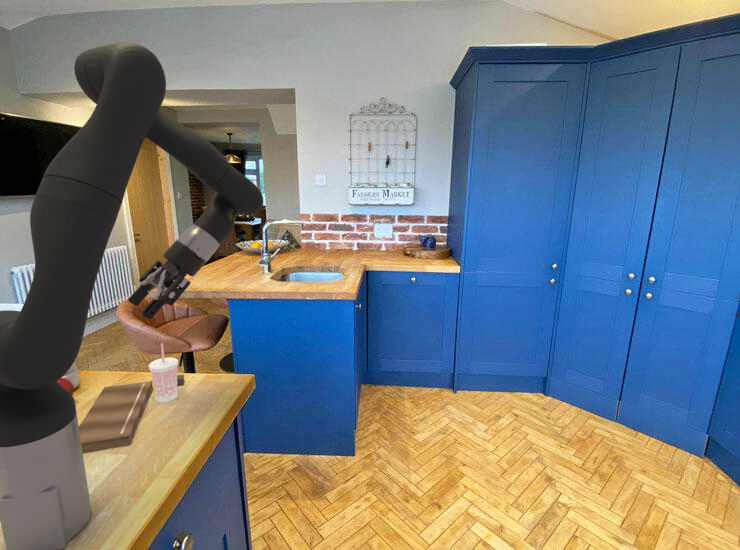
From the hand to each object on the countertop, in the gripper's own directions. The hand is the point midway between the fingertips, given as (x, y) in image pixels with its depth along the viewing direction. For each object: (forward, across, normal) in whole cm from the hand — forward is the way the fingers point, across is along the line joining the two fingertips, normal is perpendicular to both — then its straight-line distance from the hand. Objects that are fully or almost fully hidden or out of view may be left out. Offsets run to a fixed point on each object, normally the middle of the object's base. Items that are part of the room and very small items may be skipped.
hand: (138, 309), depth 74 cm
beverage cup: (+15, -4, +22) cm, 26 cm away
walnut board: (+19, -2, +16) cm, 25 cm away
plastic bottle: (+28, -24, +11) cm, 38 cm away
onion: (+28, -16, +9) cm, 34 cm away
